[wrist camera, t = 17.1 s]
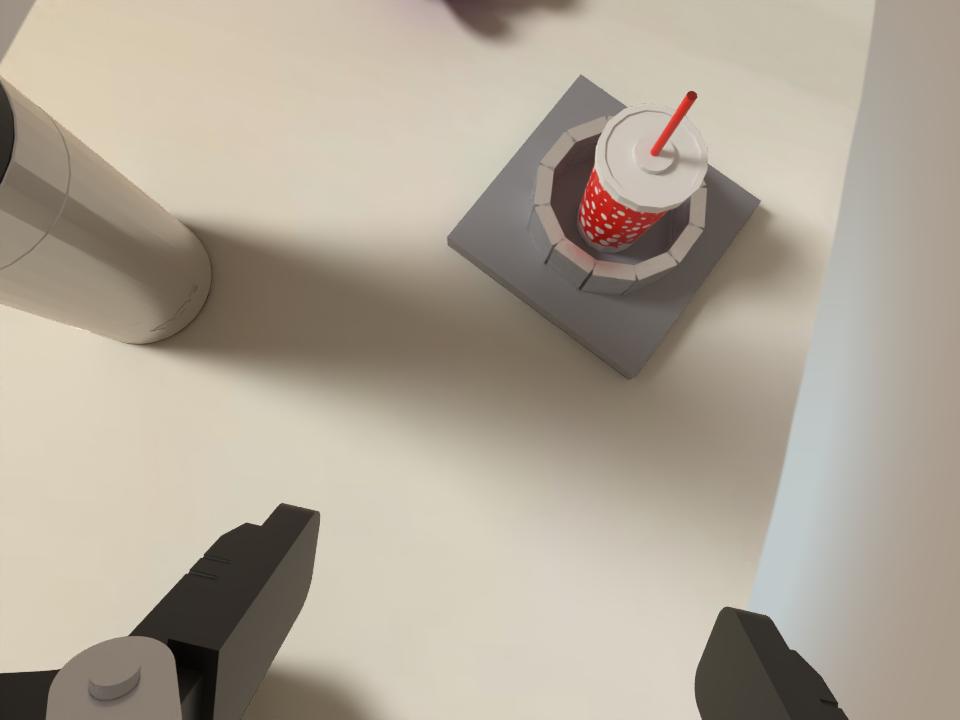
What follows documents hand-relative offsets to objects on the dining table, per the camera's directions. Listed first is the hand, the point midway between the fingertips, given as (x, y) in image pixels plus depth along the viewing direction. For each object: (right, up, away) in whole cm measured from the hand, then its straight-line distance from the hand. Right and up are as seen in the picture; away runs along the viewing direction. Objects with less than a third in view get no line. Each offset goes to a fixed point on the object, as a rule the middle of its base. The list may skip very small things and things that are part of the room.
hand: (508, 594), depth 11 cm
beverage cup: (+8, +14, +28) cm, 33 cm away
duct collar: (+8, +15, +28) cm, 33 cm away
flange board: (+8, +14, +29) cm, 34 cm away
